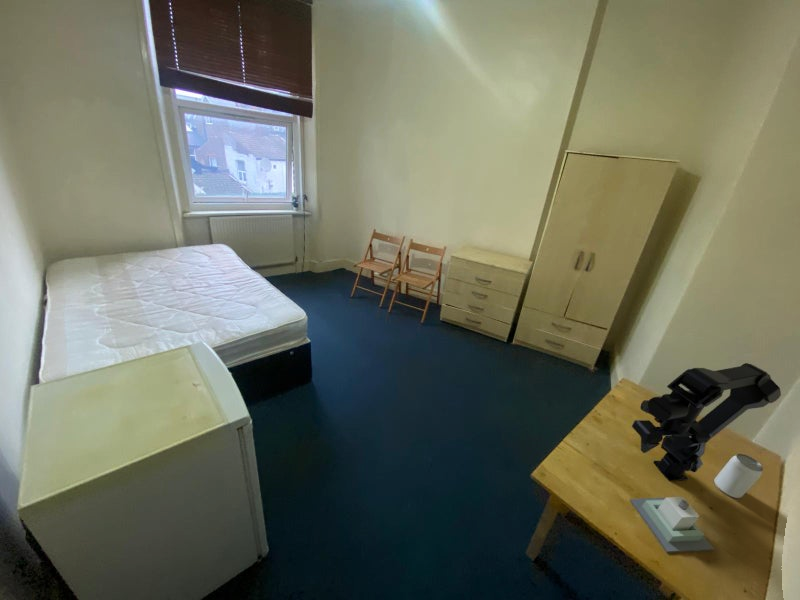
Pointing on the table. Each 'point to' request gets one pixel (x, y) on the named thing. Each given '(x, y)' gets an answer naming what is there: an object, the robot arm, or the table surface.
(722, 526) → the table surface
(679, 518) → the plug
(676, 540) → the charging dock
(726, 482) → the can
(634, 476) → the table surface
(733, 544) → the table surface
